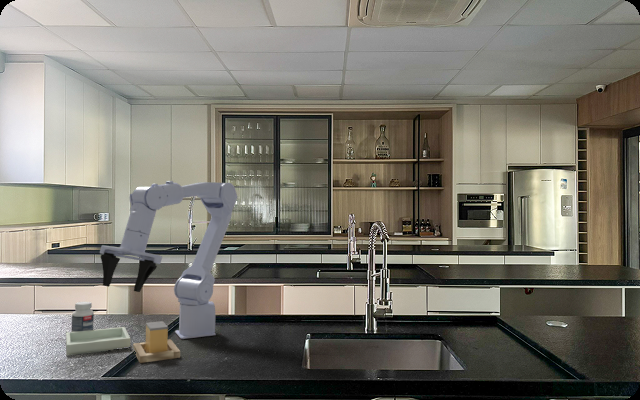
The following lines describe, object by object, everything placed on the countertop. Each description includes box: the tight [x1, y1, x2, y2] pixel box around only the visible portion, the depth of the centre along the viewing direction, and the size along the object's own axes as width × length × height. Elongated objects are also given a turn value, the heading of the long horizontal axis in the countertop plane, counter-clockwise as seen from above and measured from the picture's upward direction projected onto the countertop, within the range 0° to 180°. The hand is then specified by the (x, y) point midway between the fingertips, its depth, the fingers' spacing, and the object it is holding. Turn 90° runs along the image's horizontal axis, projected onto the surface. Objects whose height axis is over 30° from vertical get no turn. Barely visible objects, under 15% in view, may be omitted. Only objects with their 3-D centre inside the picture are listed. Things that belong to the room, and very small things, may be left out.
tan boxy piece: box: [144, 320, 169, 354], centre depth 114 cm, size 4×6×7 cm, turn 29°
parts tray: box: [65, 326, 131, 357], centre depth 119 cm, size 14×12×2 cm
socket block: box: [132, 338, 181, 364], centre depth 114 cm, size 9×11×2 cm
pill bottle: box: [70, 301, 95, 332], centre depth 127 cm, size 5×5×9 cm
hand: (121, 288), depth 111 cm, fingers open, 7 cm apart
